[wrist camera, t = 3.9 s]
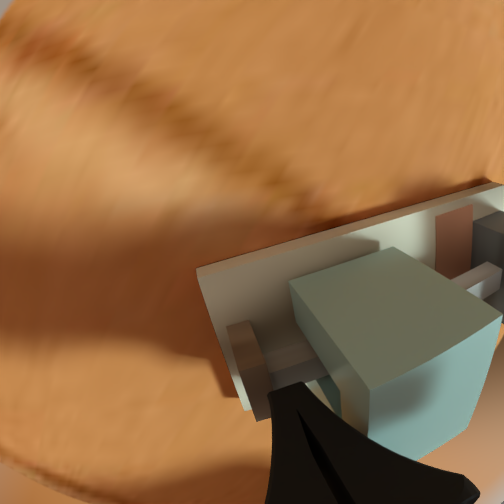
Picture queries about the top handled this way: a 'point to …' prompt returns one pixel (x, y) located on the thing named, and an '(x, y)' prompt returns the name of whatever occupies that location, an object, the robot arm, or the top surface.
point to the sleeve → (397, 348)
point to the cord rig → (334, 253)
